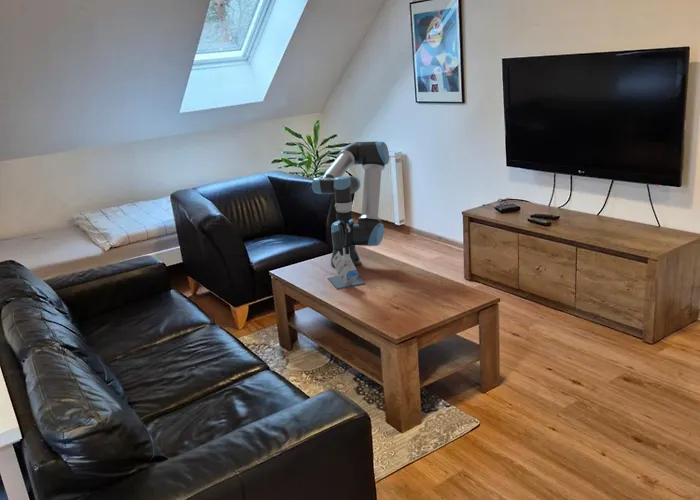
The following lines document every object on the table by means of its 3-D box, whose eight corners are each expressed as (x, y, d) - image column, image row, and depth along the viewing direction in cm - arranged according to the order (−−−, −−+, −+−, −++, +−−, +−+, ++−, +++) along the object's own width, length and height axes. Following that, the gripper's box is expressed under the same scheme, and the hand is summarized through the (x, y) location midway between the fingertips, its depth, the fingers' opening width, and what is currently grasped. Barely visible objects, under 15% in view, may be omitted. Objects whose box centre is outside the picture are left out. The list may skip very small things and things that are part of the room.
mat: (327, 278, 313) (327, 277, 313) (354, 273, 317) (354, 272, 317) (337, 289, 299) (337, 288, 298) (365, 284, 303) (365, 282, 302)
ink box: (359, 274, 296) (346, 249, 302) (351, 276, 293) (338, 250, 299) (352, 284, 302) (339, 259, 308) (343, 286, 299) (331, 260, 305)
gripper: (331, 209, 295) (335, 257, 302) (340, 214, 283) (343, 265, 290) (347, 207, 297) (349, 255, 304) (356, 212, 285) (359, 262, 292)
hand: (346, 260), depth 297 cm, fingers closed
